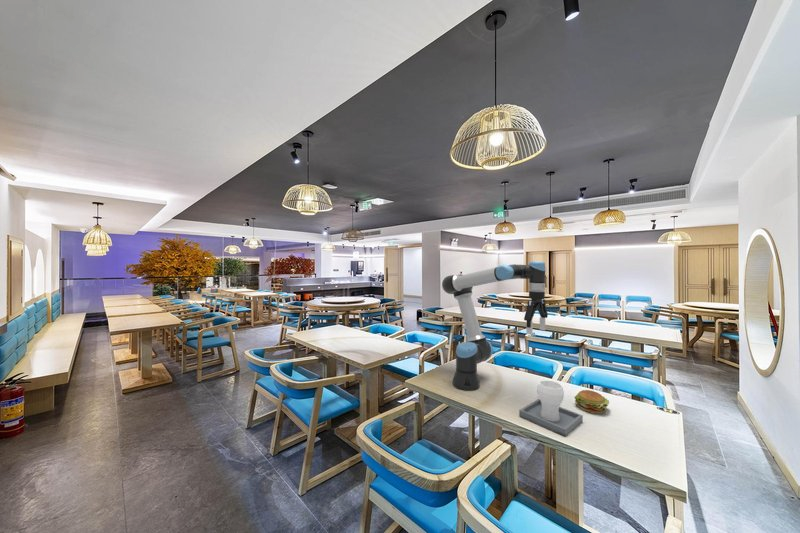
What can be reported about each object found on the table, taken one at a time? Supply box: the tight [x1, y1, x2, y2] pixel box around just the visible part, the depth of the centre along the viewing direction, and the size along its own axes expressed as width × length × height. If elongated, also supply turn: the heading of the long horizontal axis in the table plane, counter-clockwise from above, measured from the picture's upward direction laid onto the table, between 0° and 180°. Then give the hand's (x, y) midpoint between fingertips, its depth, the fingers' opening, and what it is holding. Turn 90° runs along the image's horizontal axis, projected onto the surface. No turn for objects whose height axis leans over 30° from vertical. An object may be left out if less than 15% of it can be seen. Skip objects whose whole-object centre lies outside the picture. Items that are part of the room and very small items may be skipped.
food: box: [573, 389, 610, 414], centre depth 146 cm, size 14×14×8 cm
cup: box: [537, 379, 565, 422], centre depth 136 cm, size 11×11×15 cm
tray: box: [518, 398, 584, 437], centre depth 136 cm, size 20×18×3 cm
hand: (535, 331), depth 156 cm, fingers open, 13 cm apart
